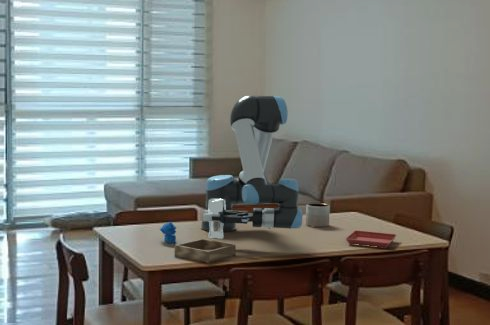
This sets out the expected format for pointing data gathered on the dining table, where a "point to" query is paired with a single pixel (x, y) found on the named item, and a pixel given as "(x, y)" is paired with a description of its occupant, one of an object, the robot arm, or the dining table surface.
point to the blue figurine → (169, 232)
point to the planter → (317, 214)
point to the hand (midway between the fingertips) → (203, 215)
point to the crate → (205, 250)
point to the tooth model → (216, 208)
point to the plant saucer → (370, 238)
